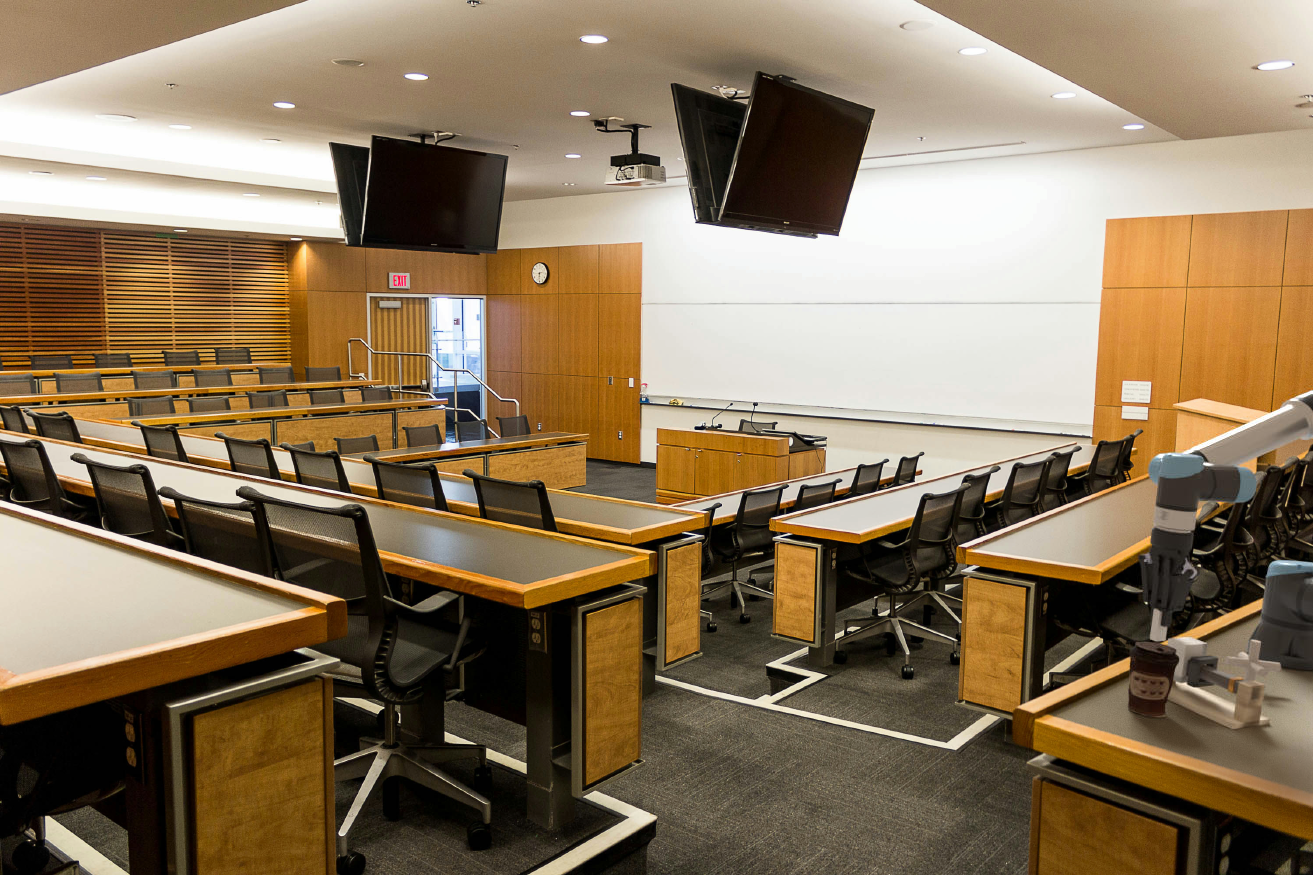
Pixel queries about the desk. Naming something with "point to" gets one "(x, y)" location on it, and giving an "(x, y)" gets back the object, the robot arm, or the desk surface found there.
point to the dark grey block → (1195, 670)
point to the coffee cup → (1151, 677)
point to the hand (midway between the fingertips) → (1157, 639)
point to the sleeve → (1186, 654)
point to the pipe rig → (1219, 708)
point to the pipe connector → (1253, 662)
